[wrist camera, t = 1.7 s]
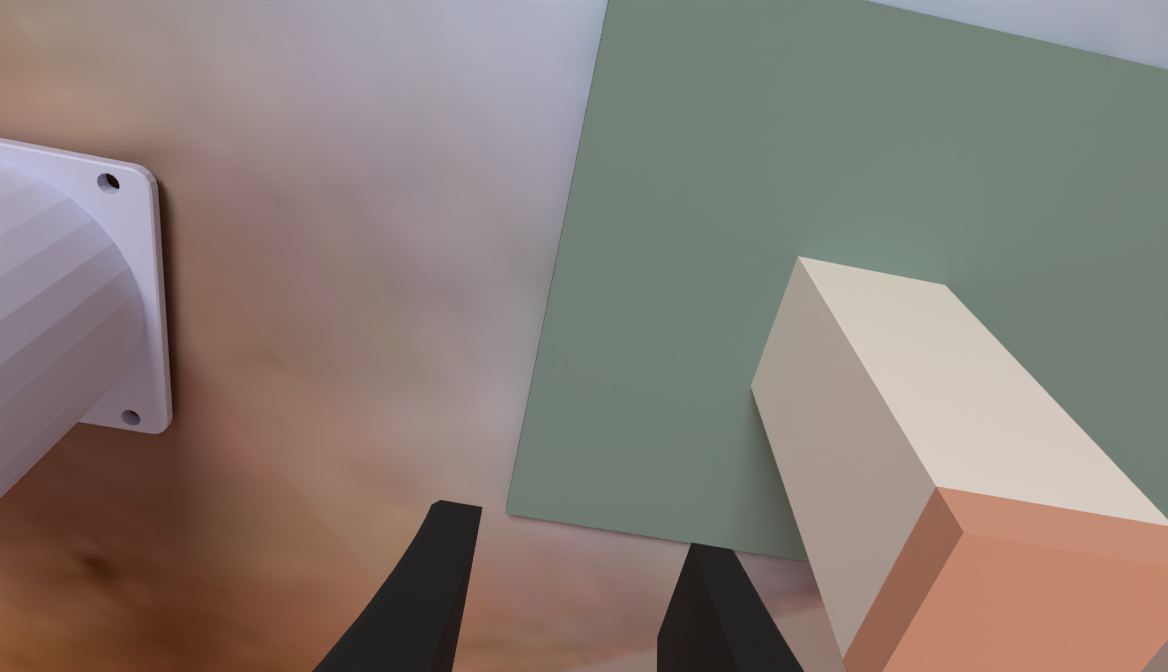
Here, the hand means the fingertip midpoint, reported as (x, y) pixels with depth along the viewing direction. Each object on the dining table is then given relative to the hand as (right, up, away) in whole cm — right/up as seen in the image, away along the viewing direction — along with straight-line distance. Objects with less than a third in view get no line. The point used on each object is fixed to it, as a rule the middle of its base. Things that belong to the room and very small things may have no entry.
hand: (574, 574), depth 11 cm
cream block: (+7, +3, +9) cm, 12 cm away
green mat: (+10, +3, +10) cm, 15 cm away
